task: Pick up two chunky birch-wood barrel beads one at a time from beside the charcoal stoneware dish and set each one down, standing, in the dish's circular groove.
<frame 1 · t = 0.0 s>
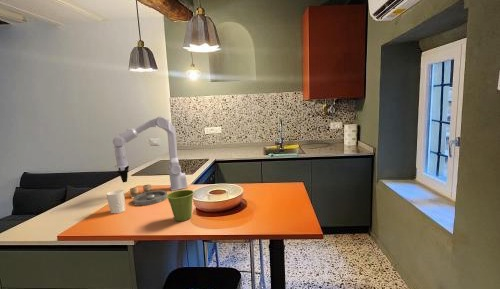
hand: (125, 180, 167), 10 cm above the table, fingers open, 7 cm apart
bead 2: (135, 196, 169), on the table
groove dish: (150, 199, 161), on the table
white cup: (118, 211, 147), on the table
plant pot: (183, 218, 130), on the table
bead 1: (148, 193, 172), on the table
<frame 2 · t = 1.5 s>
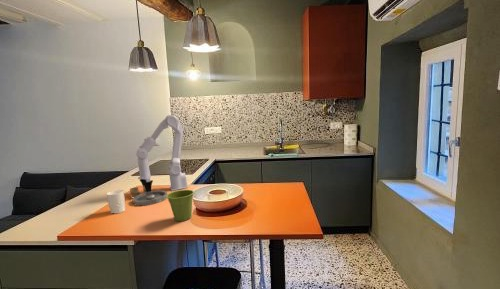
hand: (147, 191, 172), 1 cm above the table, fingers open, 6 cm apart
nothing on the table moved.
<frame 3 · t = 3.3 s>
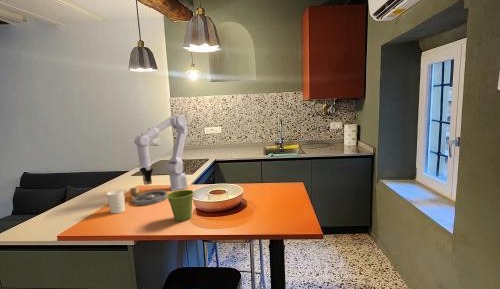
hand: (147, 180, 164), 9 cm above the table, fingers closed on bead 1, 4 cm apart
bead 1: (148, 183, 164), point 8 cm above the table, touching gripper
everything else where it was.
when the fingers open (3 cm above the table, at t = 5.0 s): bead 1 stays where it is, resting on groove dish.
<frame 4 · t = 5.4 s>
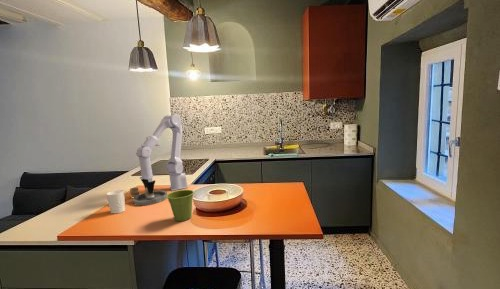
hand: (149, 192, 165), 3 cm above the table, fingers open, 7 cm apart
bead 1: (150, 196, 165), point 1 cm above the table, touching groove dish
everything else where it was.
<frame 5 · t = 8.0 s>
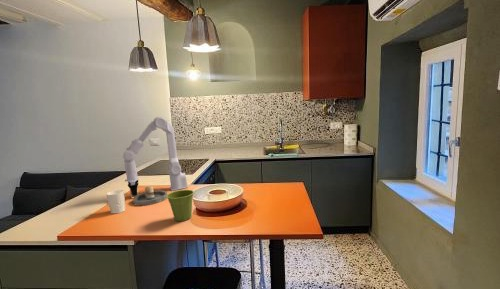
hand: (134, 194, 169), 1 cm above the table, fingers closed on bead 2, 4 cm apart
bead 2: (135, 196, 169), on the table, touching gripper
everything else where it was.
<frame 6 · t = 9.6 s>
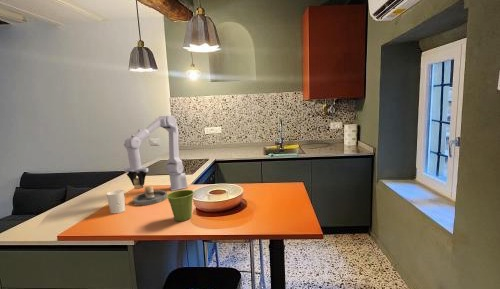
hand: (138, 185, 157), 9 cm above the table, fingers closed on bead 2, 4 cm apart
bead 2: (138, 187, 157), point 8 cm above the table, touching gripper
everything else where it was.
when the fingers open (3 cm above the table, at t = 11.4 s): bead 2 stays where it is, resting on groove dish.
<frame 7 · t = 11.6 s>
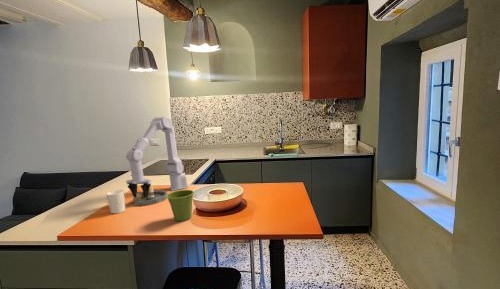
hand: (141, 196, 157), 3 cm above the table, fingers open, 6 cm apart
bead 2: (141, 201, 157), point 1 cm above the table, touching groove dish
everything else where it was.
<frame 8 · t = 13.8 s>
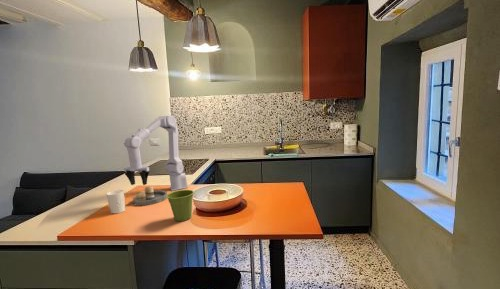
hand: (139, 184, 156), 10 cm above the table, fingers open, 7 cm apart
nothing on the table moved.
at the end: bead 1 0.1 cm from the target spot on the groove dish, point 0.6 cm above the groove dish's base; bead 2 0.1 cm from the target spot on the groove dish, point 0.6 cm above the groove dish's base; bead 1 tilted 0° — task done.
